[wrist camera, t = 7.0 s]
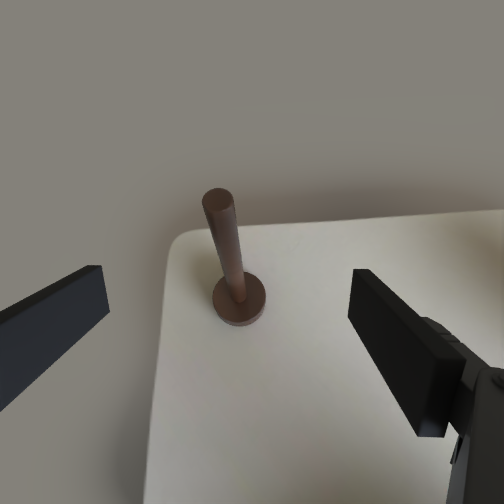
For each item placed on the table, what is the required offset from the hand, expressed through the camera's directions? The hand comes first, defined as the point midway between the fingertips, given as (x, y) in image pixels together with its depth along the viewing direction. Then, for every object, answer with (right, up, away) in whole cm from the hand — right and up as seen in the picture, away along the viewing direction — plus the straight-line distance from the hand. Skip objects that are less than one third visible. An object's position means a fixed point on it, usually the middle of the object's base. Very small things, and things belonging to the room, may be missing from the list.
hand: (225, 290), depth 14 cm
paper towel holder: (0, -3, +11) cm, 11 cm away
